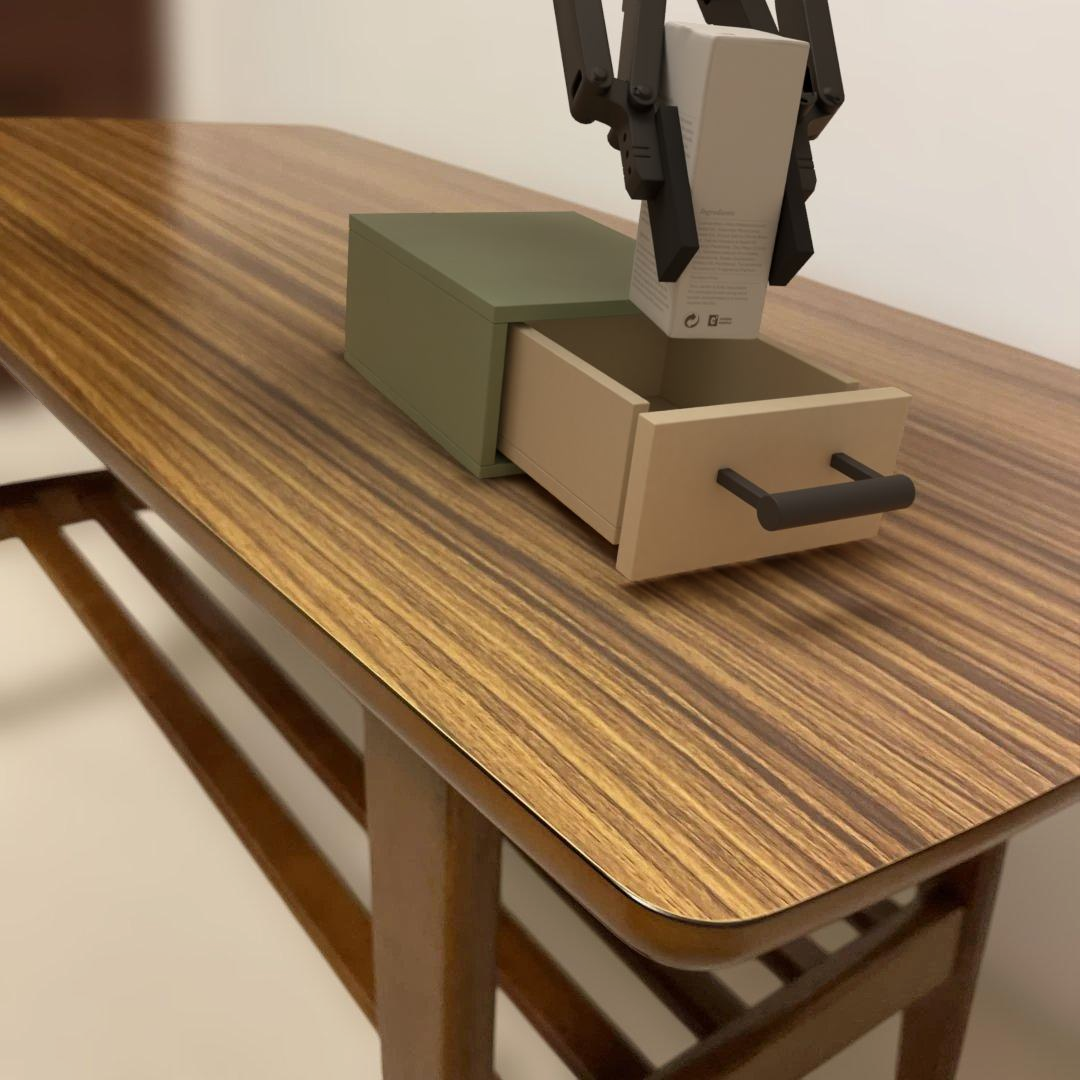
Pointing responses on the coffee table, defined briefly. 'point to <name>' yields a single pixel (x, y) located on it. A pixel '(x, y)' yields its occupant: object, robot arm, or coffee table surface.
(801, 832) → the coffee table surface
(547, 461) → the drawer
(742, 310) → the cosmetic box
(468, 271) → the cabinet
